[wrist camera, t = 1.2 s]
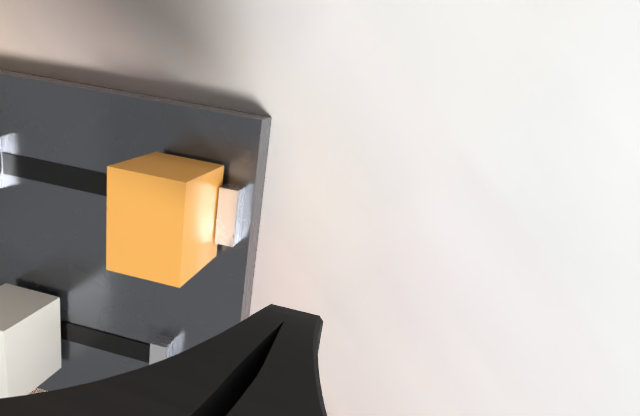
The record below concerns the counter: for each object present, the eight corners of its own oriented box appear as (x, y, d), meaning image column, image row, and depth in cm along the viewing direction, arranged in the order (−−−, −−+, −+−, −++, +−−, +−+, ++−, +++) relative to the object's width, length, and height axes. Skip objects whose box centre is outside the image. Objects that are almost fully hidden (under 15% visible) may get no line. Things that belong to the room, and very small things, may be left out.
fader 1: (61, 367, 24) (9, 409, 21) (10, 352, 25) (-48, 391, 22) (59, 297, 23) (3, 331, 20) (6, 283, 23) (-57, 314, 20)
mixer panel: (236, 427, 25) (220, 456, 23) (-12, 354, 27) (-45, 375, 25) (271, 117, 20) (255, 122, 18) (-35, 62, 22) (-78, 62, 20)
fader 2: (216, 256, 20) (179, 287, 17) (152, 241, 21) (106, 269, 18) (224, 165, 19) (186, 182, 16) (156, 151, 20) (106, 166, 17)
